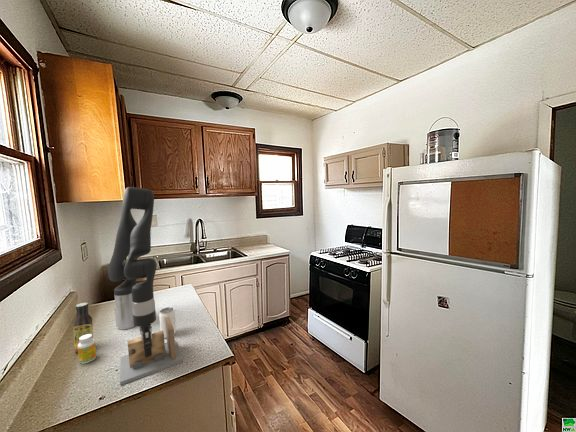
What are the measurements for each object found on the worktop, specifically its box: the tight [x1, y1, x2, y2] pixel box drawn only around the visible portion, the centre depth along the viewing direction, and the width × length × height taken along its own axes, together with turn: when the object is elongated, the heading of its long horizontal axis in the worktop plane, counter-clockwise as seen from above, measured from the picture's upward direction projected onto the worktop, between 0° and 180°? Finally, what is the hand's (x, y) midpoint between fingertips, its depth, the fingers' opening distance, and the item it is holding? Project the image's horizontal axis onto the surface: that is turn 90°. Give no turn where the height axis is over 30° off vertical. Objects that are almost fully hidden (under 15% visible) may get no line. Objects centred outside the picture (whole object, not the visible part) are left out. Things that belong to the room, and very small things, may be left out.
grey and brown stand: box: [119, 317, 183, 386], centre depth 95 cm, size 20×16×13 cm
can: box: [158, 306, 177, 339], centre depth 114 cm, size 6×6×12 cm
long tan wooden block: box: [127, 331, 166, 368], centre depth 95 cm, size 12×4×9 cm, turn 124°
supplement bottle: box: [77, 334, 97, 365], centre depth 98 cm, size 5×5×10 cm
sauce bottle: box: [73, 302, 94, 354], centre depth 104 cm, size 7×6×20 cm
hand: (147, 350), depth 95 cm, fingers open, 8 cm apart
